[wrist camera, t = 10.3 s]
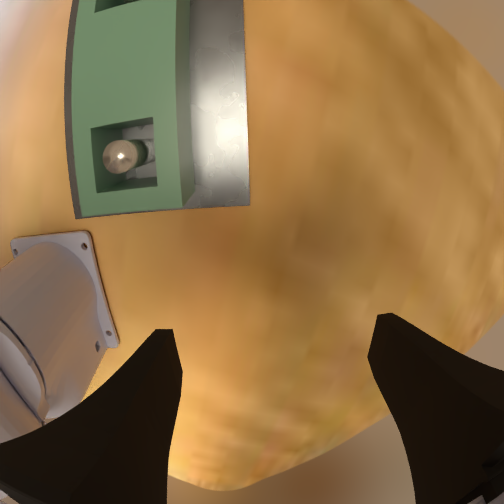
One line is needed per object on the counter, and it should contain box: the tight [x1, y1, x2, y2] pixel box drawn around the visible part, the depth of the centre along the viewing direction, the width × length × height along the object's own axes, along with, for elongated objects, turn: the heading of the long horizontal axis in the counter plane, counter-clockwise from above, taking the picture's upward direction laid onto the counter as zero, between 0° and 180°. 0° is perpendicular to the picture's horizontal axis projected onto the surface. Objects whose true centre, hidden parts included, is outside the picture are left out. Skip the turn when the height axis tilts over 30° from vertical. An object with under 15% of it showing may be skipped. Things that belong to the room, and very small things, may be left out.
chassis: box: [64, 0, 250, 219], centre depth 12 cm, size 16×11×6 cm
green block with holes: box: [72, 0, 195, 217], centre depth 11 cm, size 14×5×4 cm, turn 2°
